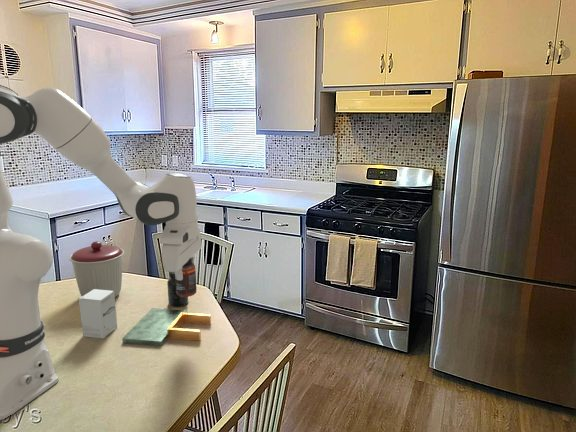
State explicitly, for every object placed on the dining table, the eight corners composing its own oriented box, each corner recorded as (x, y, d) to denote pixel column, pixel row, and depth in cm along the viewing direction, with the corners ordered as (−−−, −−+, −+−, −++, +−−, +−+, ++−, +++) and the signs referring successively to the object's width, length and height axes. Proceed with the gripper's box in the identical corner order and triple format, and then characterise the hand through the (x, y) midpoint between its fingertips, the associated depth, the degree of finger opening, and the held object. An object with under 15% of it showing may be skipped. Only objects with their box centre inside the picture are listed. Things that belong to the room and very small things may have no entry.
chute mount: (194, 348, 122) (194, 339, 121) (122, 342, 124) (121, 333, 124) (215, 316, 141) (214, 308, 140) (152, 311, 144) (152, 303, 143)
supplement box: (104, 339, 126) (99, 300, 123) (82, 336, 128) (77, 298, 125) (118, 327, 133) (114, 290, 130) (97, 324, 135) (93, 288, 132)
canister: (62, 303, 149) (55, 246, 144) (98, 284, 166) (93, 232, 161) (105, 310, 144) (99, 252, 139) (137, 289, 161) (133, 237, 156)
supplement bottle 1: (199, 290, 128) (198, 254, 125) (192, 298, 122) (191, 262, 119) (180, 288, 129) (178, 253, 126) (173, 297, 123) (170, 260, 120)
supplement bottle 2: (178, 297, 155) (176, 266, 152) (192, 301, 152) (190, 270, 149) (164, 304, 149) (162, 272, 146) (178, 309, 146) (176, 276, 143)
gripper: (185, 219, 131) (188, 261, 134) (156, 239, 111) (160, 288, 115) (205, 220, 130) (207, 262, 134) (178, 241, 110) (182, 289, 114)
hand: (185, 274), depth 124 cm, fingers closed on supplement bottle 1, 6 cm apart
